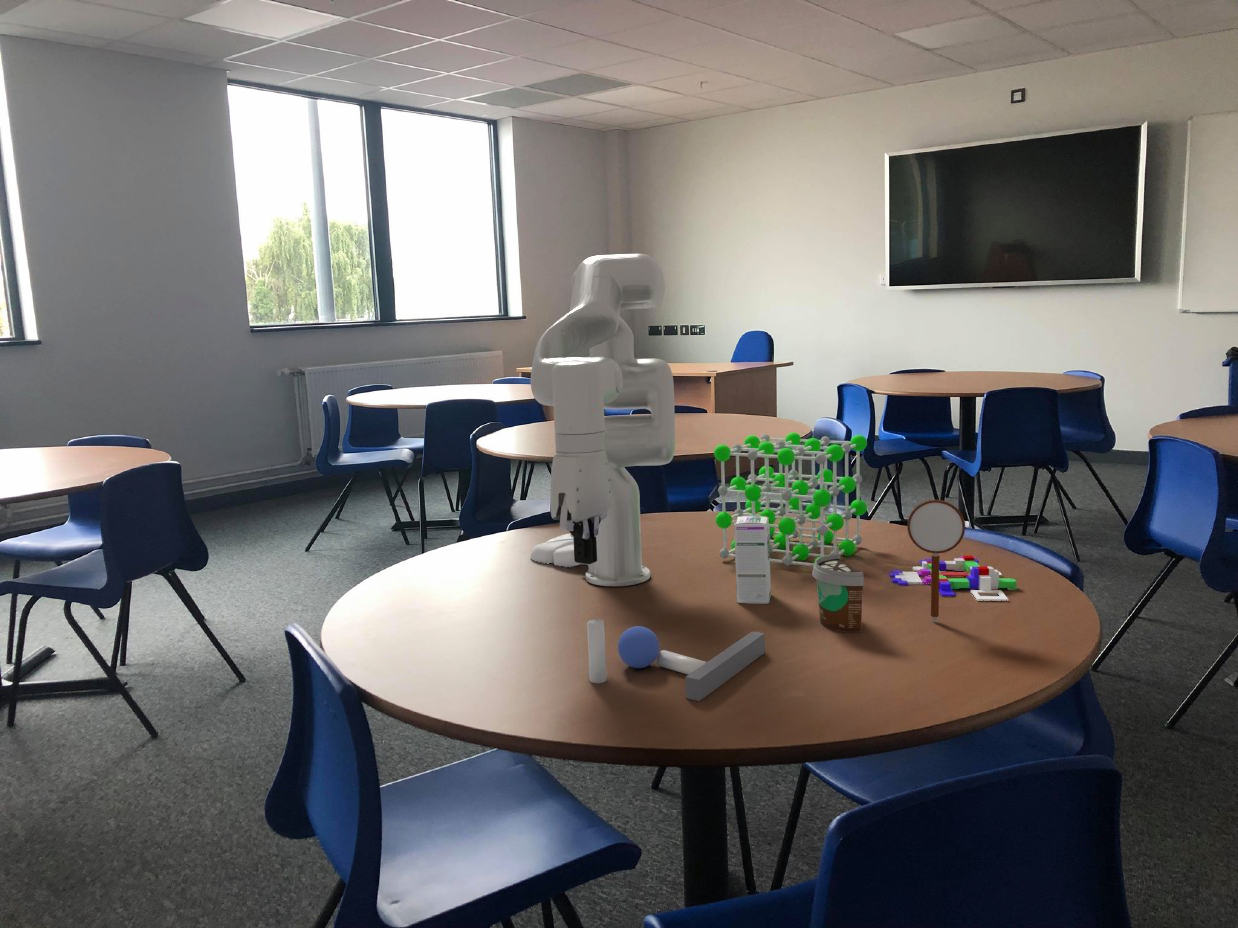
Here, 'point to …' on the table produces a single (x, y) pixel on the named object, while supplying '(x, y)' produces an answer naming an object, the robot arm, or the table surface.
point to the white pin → (678, 662)
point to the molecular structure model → (795, 494)
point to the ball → (638, 647)
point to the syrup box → (752, 559)
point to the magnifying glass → (936, 537)
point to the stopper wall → (724, 666)
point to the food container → (838, 594)
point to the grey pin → (596, 651)
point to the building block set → (975, 574)
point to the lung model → (556, 551)
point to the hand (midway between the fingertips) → (585, 561)
